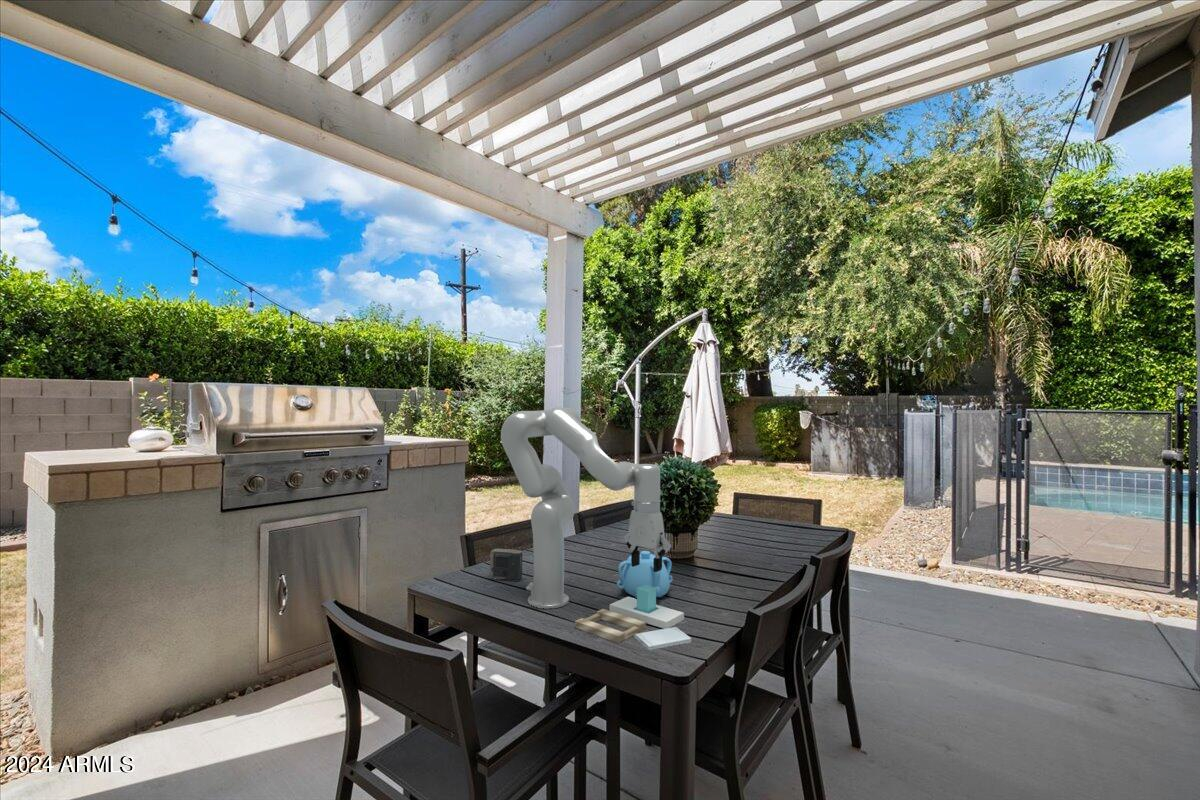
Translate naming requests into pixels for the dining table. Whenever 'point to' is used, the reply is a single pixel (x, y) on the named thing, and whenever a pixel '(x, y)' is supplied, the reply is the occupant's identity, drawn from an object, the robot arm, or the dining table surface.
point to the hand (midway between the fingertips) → (646, 567)
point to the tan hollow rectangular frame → (609, 633)
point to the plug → (646, 599)
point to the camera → (506, 564)
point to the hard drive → (662, 638)
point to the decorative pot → (644, 575)
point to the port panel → (657, 618)
